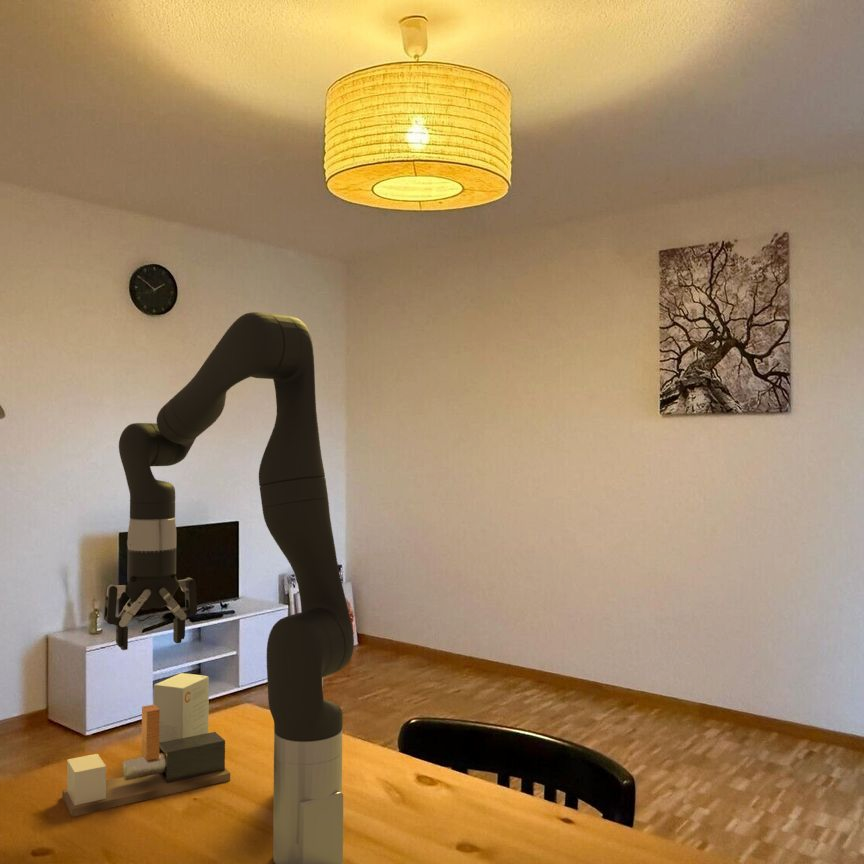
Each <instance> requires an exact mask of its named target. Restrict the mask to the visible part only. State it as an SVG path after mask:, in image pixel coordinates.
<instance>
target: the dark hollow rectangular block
mask: <svg viewBox="0 0 864 864" xmlns="http://www.w3.org/2000/svg"><path fill="white" fill-rule="evenodd" d="M160 753H165V754H166V772H164V773H159V774H160V776H161V777H162V778H163V779H164V781H165V782H166V783H171V782H176V781H180V780H185V779H189V778H194V777H198V776H203V775H207V774H212V773H216V772H221V771H225V768H226V740H225V739H224V738H222V736H221V735H219V734H218V733H217V732H216V731H212V732H209V733H206V734H201V735H196V736H191V737H186V738H181V739H175V740H170V741H165V742H160V743H159V754H160Z"/></svg>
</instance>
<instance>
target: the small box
mask: <svg viewBox="0 0 864 864" xmlns="http://www.w3.org/2000/svg"><path fill="white" fill-rule="evenodd" d="M209 681H210V677H209V676H207V675H201V674H194V673H193V674H192V673H186V672H185V673H184V672H180V673H179V674H176V675H174V676H171V677H169V678H167V679H165V680H161V681H160V682H157V683H155V684H153V705H154V704H155V705H156V706H157V707H158V708H159V709H160V719H159V743H160V742H165V741H170V740H175V739H181V738H186V737H191V736H196V735H201V734H206V733H210V732H209V730H210V729H209V726H210V725H209V724H210V723H209V714H210V712H209V710H210V708H209V707H210V705H209V699H210V695H209V694H210V693H209V692H210V691H209V688H210V686H209V683H210V682H209Z"/></svg>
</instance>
